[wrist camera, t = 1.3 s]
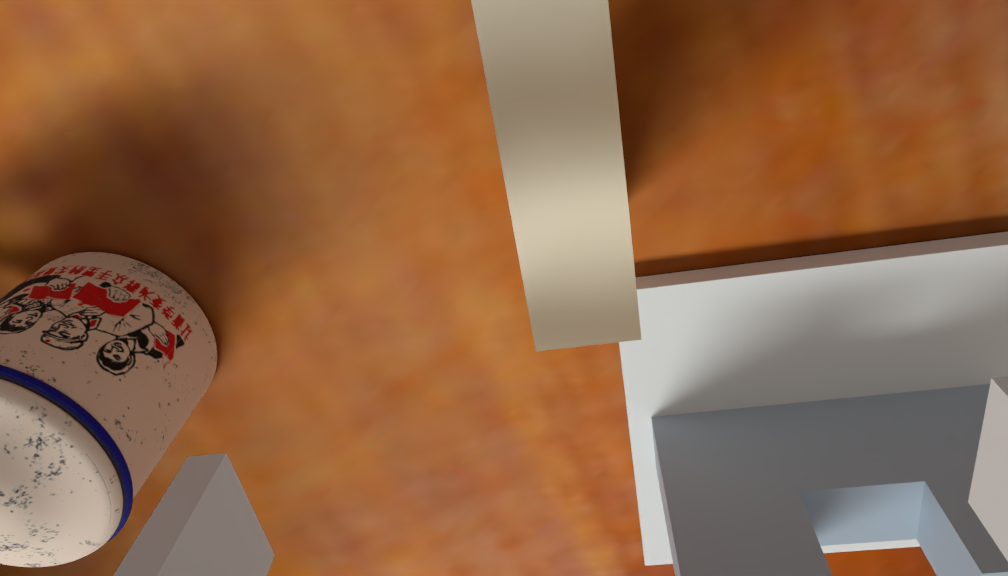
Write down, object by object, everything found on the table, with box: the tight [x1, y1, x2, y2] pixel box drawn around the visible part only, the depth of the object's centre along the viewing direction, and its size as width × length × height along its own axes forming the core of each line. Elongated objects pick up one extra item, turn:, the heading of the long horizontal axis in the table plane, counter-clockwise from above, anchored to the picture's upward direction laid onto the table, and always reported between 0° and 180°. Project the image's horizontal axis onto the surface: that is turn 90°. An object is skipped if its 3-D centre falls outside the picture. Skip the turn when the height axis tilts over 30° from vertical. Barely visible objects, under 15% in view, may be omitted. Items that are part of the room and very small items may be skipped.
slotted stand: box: [619, 232, 1008, 576], centre depth 28 cm, size 16×16×10 cm
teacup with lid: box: [0, 252, 217, 567], centre depth 27 cm, size 12×9×12 cm
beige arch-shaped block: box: [471, 0, 642, 351], centre depth 21 cm, size 14×3×9 cm, turn 10°
